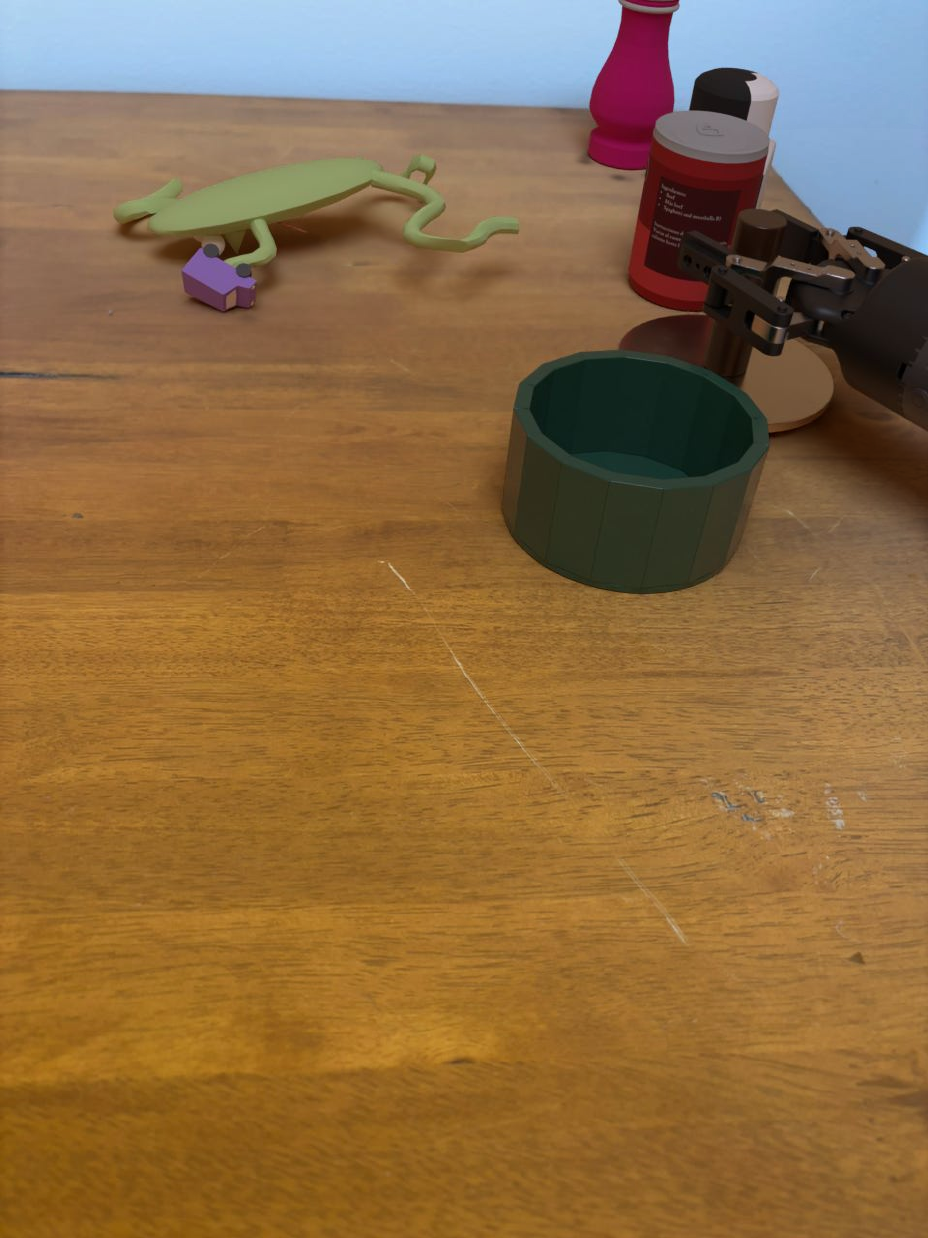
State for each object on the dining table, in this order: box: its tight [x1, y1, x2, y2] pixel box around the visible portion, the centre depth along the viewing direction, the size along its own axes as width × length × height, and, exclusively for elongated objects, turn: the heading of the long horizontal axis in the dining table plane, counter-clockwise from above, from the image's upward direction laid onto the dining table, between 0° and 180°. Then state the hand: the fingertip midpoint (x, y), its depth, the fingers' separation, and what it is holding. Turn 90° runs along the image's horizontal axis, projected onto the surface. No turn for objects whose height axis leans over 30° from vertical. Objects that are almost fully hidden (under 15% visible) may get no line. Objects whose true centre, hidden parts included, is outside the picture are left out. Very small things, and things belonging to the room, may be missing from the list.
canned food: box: [628, 110, 771, 312], centre depth 79 cm, size 8×8×11 cm
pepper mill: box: [587, 0, 681, 170], centre depth 94 cm, size 7×7×20 cm
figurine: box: [112, 153, 520, 312], centre depth 80 cm, size 18×27×6 cm
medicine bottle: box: [688, 67, 780, 209], centre depth 85 cm, size 7×7×12 cm
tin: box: [501, 349, 771, 594], centre depth 59 cm, size 13×13×6 cm
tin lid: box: [616, 208, 835, 434], centre depth 69 cm, size 14×14×11 cm
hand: (724, 236), depth 68 cm, fingers open, 6 cm apart
